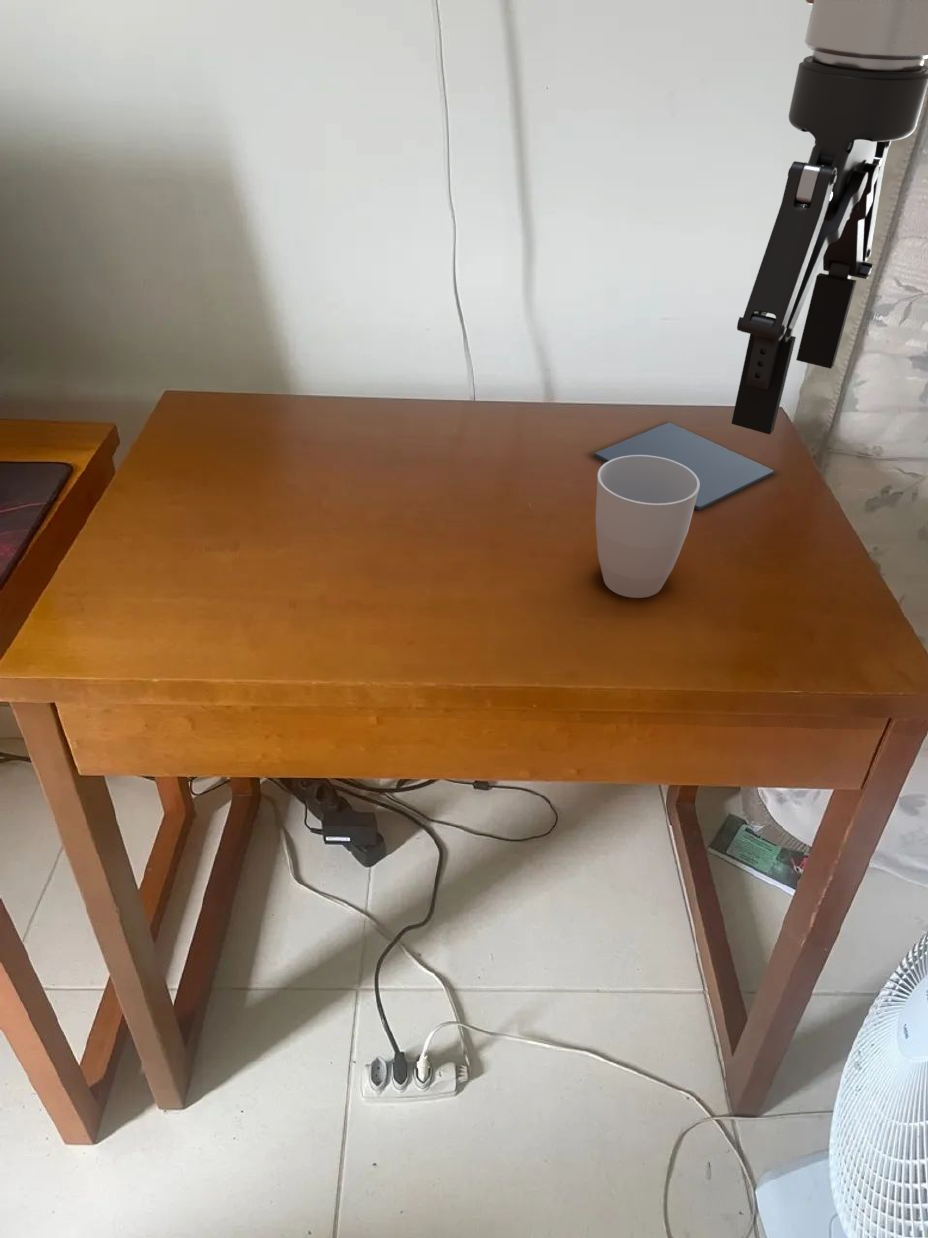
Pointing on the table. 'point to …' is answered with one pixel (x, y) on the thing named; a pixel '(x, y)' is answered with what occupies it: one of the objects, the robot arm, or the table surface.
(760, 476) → the mat
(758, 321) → the robot arm
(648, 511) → the cup
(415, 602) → the table surface
